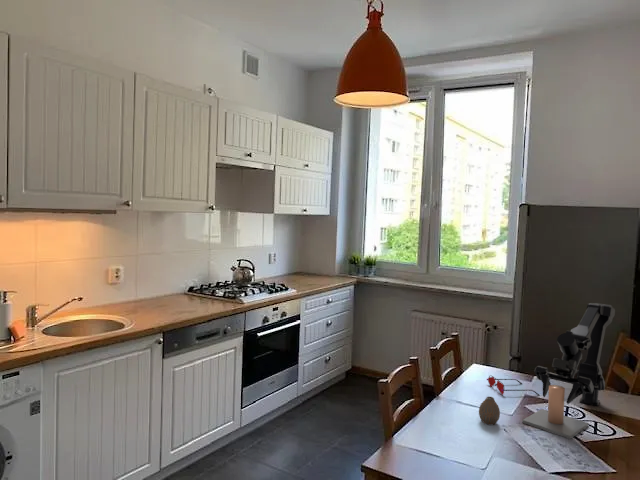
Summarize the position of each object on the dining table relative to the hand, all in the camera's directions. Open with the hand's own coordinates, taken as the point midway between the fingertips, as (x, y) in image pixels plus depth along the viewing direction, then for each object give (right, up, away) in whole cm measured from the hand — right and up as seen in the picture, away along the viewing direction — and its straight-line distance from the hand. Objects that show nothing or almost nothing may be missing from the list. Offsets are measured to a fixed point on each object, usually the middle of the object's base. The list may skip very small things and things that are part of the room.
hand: (555, 399), depth 176 cm
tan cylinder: (+1, -8, +1) cm, 8 cm away
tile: (+1, -9, +1) cm, 9 cm away
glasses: (-1, -8, +36) cm, 36 cm away
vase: (-23, -8, +1) cm, 24 cm away
